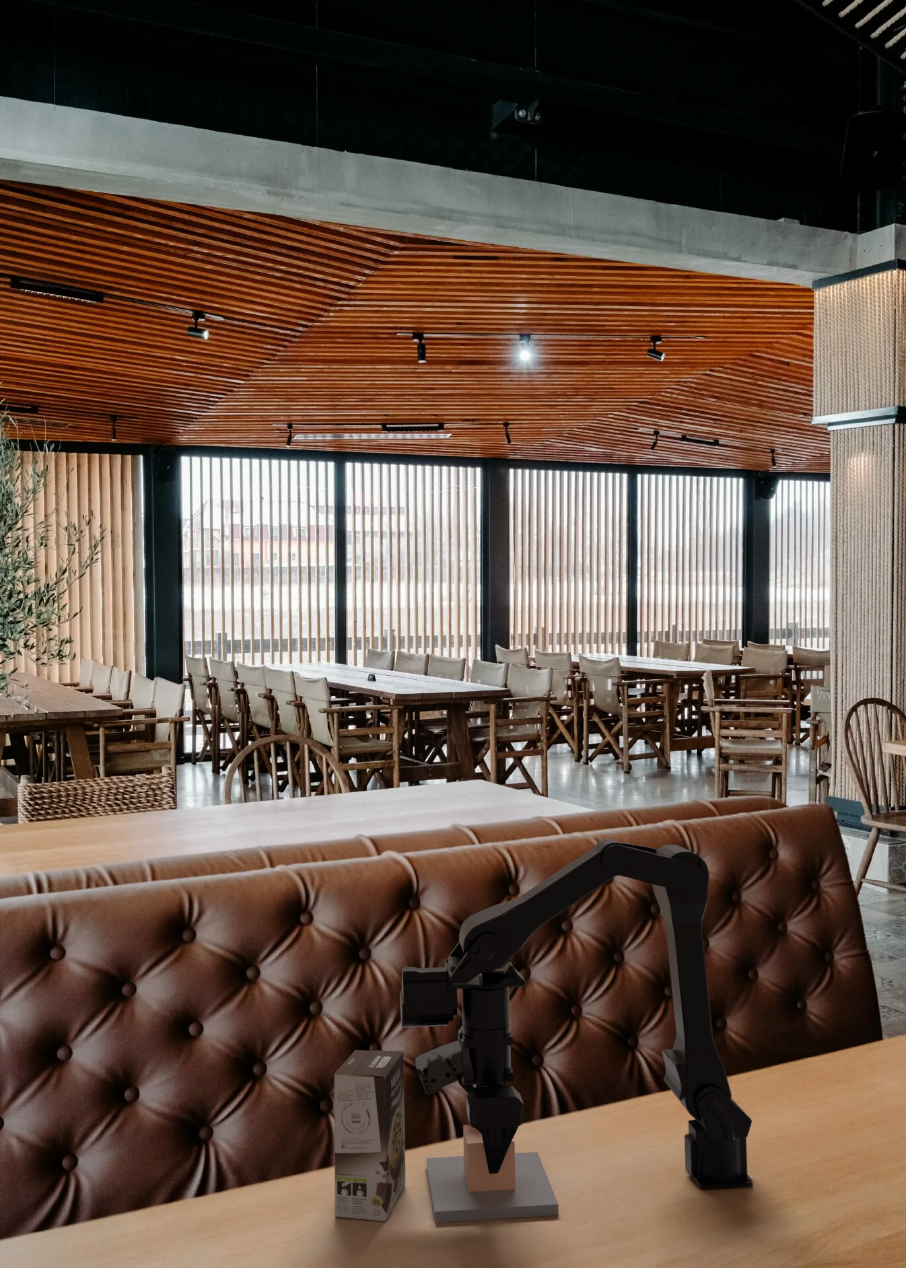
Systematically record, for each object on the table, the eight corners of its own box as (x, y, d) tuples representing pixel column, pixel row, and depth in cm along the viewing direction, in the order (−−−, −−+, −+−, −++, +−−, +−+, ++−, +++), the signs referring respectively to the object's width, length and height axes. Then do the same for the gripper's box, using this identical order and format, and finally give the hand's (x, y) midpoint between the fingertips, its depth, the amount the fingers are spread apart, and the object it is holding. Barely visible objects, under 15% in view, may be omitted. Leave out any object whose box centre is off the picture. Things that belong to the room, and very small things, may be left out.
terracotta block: (508, 1168, 133) (508, 1122, 133) (515, 1189, 127) (514, 1141, 127) (464, 1171, 132) (463, 1124, 132) (468, 1192, 127) (467, 1143, 127)
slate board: (537, 1161, 137) (537, 1151, 137) (558, 1215, 123) (558, 1204, 123) (426, 1168, 136) (426, 1158, 136) (435, 1222, 122) (434, 1211, 122)
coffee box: (388, 1222, 122) (386, 1076, 123) (333, 1218, 124) (331, 1073, 124) (407, 1186, 131) (405, 1049, 132) (356, 1182, 132) (354, 1047, 133)
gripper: (414, 1003, 139) (416, 1128, 138) (424, 1052, 121) (426, 1196, 120) (501, 999, 140) (503, 1123, 139) (523, 1047, 122) (526, 1190, 121)
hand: (488, 1156), depth 130 cm, fingers open, 9 cm apart
